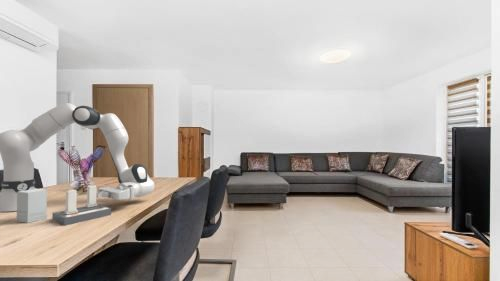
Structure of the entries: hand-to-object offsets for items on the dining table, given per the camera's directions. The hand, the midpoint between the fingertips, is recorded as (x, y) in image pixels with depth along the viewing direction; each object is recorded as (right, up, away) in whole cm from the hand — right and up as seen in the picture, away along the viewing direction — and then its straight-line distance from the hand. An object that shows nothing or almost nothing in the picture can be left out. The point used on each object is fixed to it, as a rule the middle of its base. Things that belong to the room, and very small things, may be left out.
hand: (96, 195), depth 115 cm
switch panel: (-1, -8, -8) cm, 11 cm away
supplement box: (-20, -8, -12) cm, 25 cm away
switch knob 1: (-2, -4, -13) cm, 14 cm away
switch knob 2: (-1, -5, -2) cm, 5 cm away
